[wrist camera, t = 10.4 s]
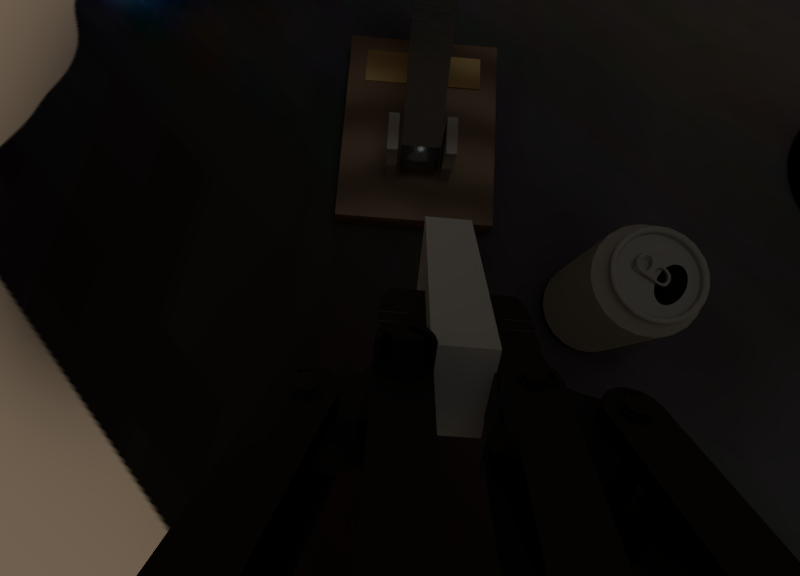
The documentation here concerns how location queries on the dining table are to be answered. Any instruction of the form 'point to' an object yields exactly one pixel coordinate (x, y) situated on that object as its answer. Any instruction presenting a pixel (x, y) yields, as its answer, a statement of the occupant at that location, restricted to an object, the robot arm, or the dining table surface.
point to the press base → (382, 135)
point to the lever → (427, 82)
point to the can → (628, 289)
